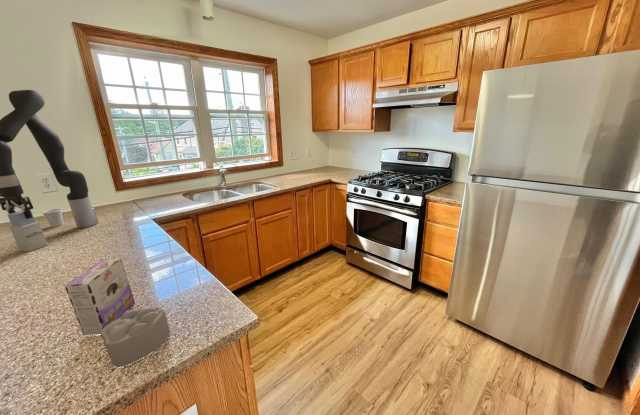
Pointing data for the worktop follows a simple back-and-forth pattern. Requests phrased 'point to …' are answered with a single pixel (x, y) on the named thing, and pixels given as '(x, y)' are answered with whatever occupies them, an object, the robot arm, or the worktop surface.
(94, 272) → the candy box
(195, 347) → the worktop surface
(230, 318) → the worktop surface
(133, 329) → the grey lumpy block
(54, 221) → the dixie cup
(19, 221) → the blue block
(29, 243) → the supplement box
